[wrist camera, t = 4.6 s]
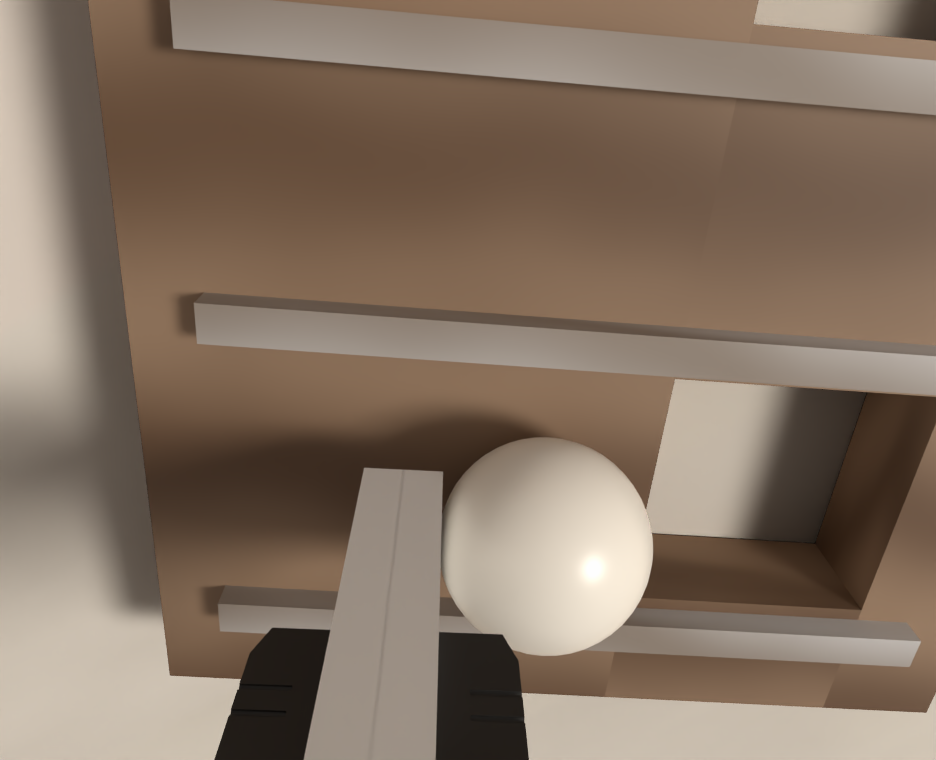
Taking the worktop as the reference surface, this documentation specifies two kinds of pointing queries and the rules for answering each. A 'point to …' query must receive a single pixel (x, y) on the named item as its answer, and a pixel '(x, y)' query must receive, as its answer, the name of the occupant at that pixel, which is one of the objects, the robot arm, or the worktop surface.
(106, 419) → the worktop surface
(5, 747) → the worktop surface
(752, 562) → the hole deck
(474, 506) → the cream ball
